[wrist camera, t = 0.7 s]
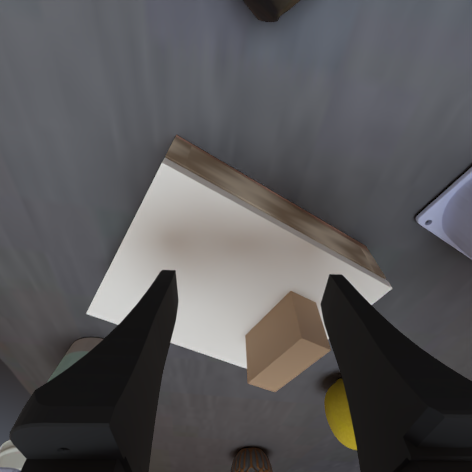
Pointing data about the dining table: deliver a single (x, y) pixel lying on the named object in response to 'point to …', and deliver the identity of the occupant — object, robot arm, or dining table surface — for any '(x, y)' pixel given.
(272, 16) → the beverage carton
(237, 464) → the vase
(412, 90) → the dining table surface
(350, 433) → the lemon
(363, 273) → the lid
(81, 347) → the coffee cup
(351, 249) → the box
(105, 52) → the dining table surface
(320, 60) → the dining table surface
